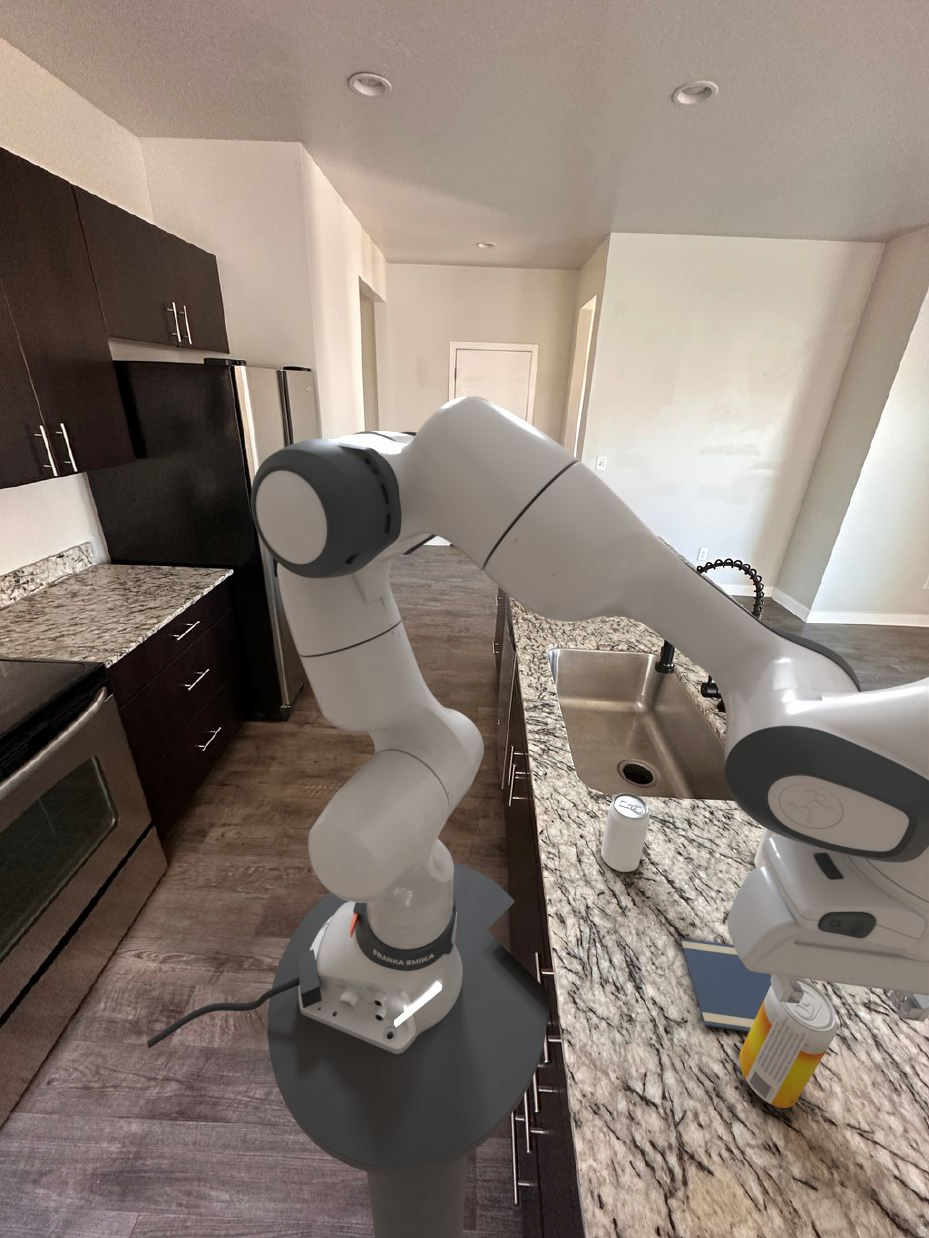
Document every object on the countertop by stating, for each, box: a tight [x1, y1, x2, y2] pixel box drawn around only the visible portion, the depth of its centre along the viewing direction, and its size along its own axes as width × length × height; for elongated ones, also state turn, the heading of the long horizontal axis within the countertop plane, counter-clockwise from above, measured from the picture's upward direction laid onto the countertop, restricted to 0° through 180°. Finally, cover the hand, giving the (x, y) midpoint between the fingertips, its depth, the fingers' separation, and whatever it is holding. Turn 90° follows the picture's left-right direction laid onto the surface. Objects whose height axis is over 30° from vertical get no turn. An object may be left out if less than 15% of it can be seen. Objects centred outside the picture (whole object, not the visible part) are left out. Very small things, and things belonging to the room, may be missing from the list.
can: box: [600, 792, 651, 873], centre depth 82 cm, size 6×6×12 cm
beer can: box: [738, 978, 838, 1109], centre depth 54 cm, size 6×6×15 cm
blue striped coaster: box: [680, 938, 772, 1034], centre depth 66 cm, size 11×11×1 cm
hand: (843, 1001), depth 40 cm, fingers open, 8 cm apart
